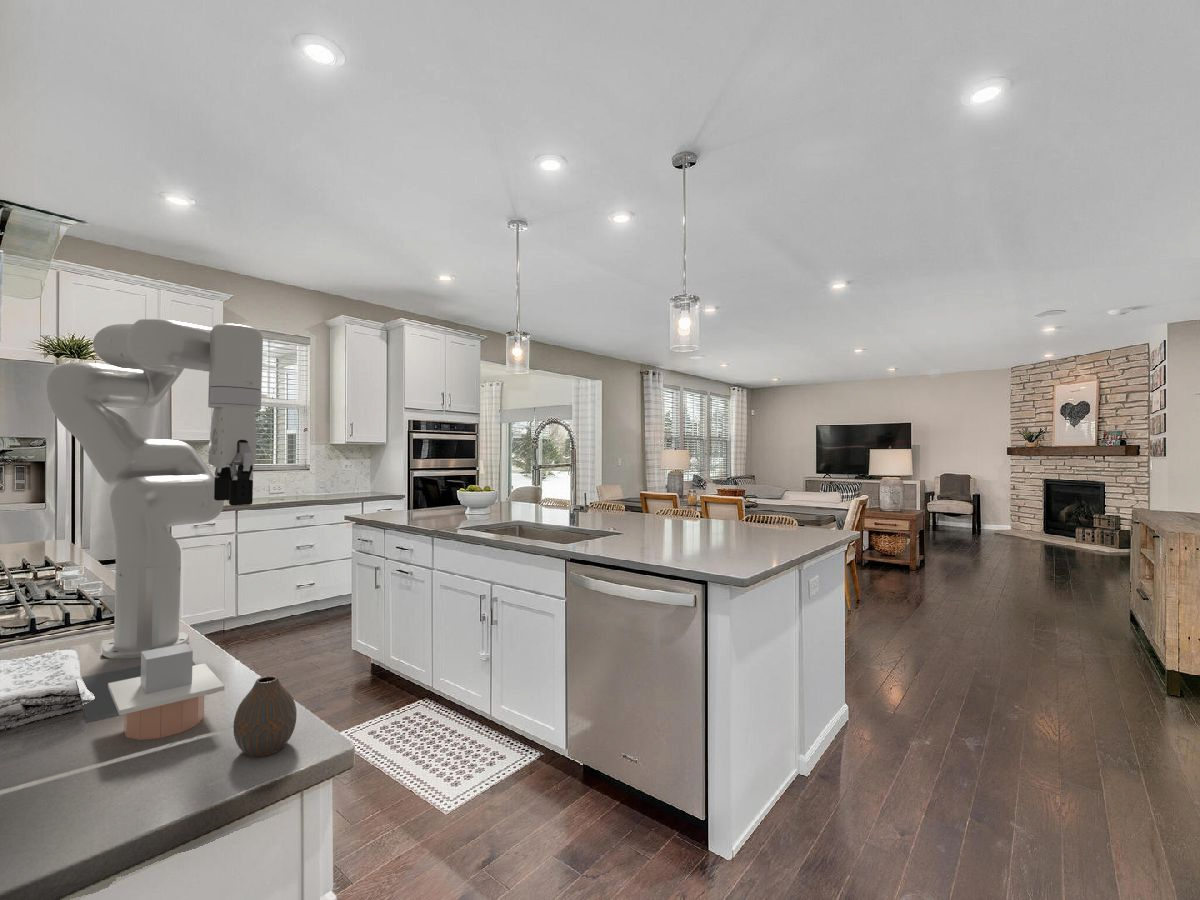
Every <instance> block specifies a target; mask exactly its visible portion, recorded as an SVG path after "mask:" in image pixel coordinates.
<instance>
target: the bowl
mask: <svg viewBox="0 0 1200 900" xmlns="http://www.w3.org/2000/svg"><path fill="white" fill-rule="evenodd" d="M204 717H205V695H203V696H198V697H194V698H190V699H186V700H182V701H177V702H173V703H169V704H165V705H161V706H156V707H152V708H148V709H144V710H140V711H136V712H131V713H127V714H123V719H124V720H123V732H124V735H125V737H126V738H130V739H134V740H140V741H142V740H143V741H144V740H152V739H162V738H166V737H169V736H173V735H177V734H180V733H184V732H185V731H187V730H189V729H191V728H193V727H195V726H197V725H199V723H200V722H201V721H202V720H203V719H204Z"/></svg>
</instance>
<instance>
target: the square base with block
mask: <svg viewBox="0 0 1200 900" xmlns="http://www.w3.org/2000/svg"><path fill="white" fill-rule="evenodd" d="M192 649H193V648H191V647H190V646H189V645H188V643H187V644H180V645H175V646H169V647H164V648H158V649H153V650H147V651H142V652H141V657H140V666H141V677H136V678H131V679H126V680H121V681H117V682H112V683H108V689H109V691H110V694H111V696H112V699H113V701H114V704H115V706H116V708H117V711H118V713H119V715H118V716H122V715H123V716H124V714H127V713H131V712H136V711H140V710H144V709H148V708H152V707H156V706H161V705H165V704H169V703H173V702H177V701H182V700H186V699H190V698H194V697H198V696H203V695H204V696H206V695H207V696H208V695H210V694H211V695H212V694H214V693H215V692H216V693H218V692H222V691H225V684H223V682H222V681H221V680H220V679H219V678H218V677H217V675H216V674H215V673H214V672H213V671H212V670H211V669H210V667H209V666H208V665H207V664H206V663H205V662H204V663H199V664H196V665H194V666H192V661H193V662H194V658H193V654H194V652H193V650H192Z"/></svg>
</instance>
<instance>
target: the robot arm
mask: <svg viewBox="0 0 1200 900" xmlns="http://www.w3.org/2000/svg"><path fill="white" fill-rule="evenodd" d="M263 339H264V338H263V335H262V332H260V331H259V330H258V329H257V328H256V327H255V328H254V327H253V326H248V325H244V324H243V325H242V324H235V323H220V324H216V325H214V326H212V327H208V326H204V325H198V324H193V323H187V322H181V321H176V320H170V319H160V318H159V319H156V318H155V319H154V318H153V319H150V318H149V319H148V318H146V319H144V318H143V319H138V320H136V321H135V322H134V323H117V324H111V325H108V326H105V327H103V328H101V329H100V330H99V331H98V332H96V334H95V336H94V338H93V339H92V340H93V341H92V347H93V350H94V352H95V354H96V355H97V356H98V357H99V359H101V360H102V361H103V362H104V363H106V364H104V363H96V362H84V361H83V362H81V361H80V362H78V361H77V362H68V363H64V364H60V365H58V366H57V367H54V368H53V369H52V370H51V371H50V373H49V375H48V377H47V381H46V394H47V398H48V399H47V400H48V403H49V405H50V408H51V410H52V412H53V414H54V415H55V417H56V419H57V420H58V421H59V422H60V424H61V425H62V426H63V427H64V428H65V429H66V430H67V431H68V432H69V433H70V434H71V435H72V436H73V437H74V438H75V439H76V440H77V441H78V442H79V444H80V445H81V447H82V449H83V451H84V452H85V453H86V455H87V457H88V458H89V460H90V462H91V463H92V465H93V466H94V468H95V470H96V471H97V472H98V474H99V475H100V478H102V480H103V481H104V482H105V483H107V484H108V485H110V486H112V487H113V489H112V491H111V493H110V497H109V505H110V506H109V507H110V513H111V518H112V523H113V528H114V537H115V539H114V540H115V584H114V585H115V587H114V590H115V591H114V626H113V629H114V631H113V640H112V641H110V642H108V643H107V644H105V645H103V647H102V649H101V654H102V656H103V657H105V658H108V659H136V658H137V659H138V658H141V652H142V651H147V650H153V649H158V648H164V647H169V646H175V645H180V644H187V645H188V643H189V642H190V638H189V637H190V635H189V634H187V632H183V631H180V612H181V611H180V607H181V606H180V605H181V577H182V576H181V573H182V572H181V569H182V567H181V565H182V553H181V547H180V544H179V543H178V541H177V540H176V539H175V537H174V536H173V535H172V533H170V531H169V530H168V527H175V526H183V525H185V526H186V525H193V524H194V525H195V524H201V523H202V524H203V523H207V522H210V521H212V520H215V519H216V518H217V517H218V516H220V514H221V513H222V511H223V509H224V506H225V505H224V504H225V501H228V504H229V505H230V506H232V507H233V506H235V507H236V506H250V505H253V500H254V499H253V497H254V496H253V495H254V492H253V491H254V490H253V489H254V473H253V470H254V465H255V464H256V463H255V462H256V457H257V456H256V454H257V453H256V452H257V424H256V422H257V419H256V418H257V416H256V411H262V388H263V386H262V385H263V384H262V383H263V381H262V379H263V348H264V346H263V345H264V344H263V343H264V341H263ZM184 369H186V370H187V369H188V370H196V371H203V372H208V395H207V396H208V398H207V399H208V400H207V401H208V402H207V407H208V408H209V409H213V410H212V416H211V424H210V432H209V433H210V436H209V446H208V447H209V448H208V464H209V465H210V466H211V467H213V468H215V470H214V471H215V472H214V474H213V472H212V471H211V469H210V468H209V467H208V465H207V464H206V462H205V461H204V460H203V458H202V457H201V456H200V454H199V453H198V451H197V450H196V449H195V448H194V447H193V446H191V445H190V444H188V443H187V442H185V441H181V440H176V439H163V438H161V439H160V438H158V439H157V438H146V437H142V436H140V435H139V434H138V433H137V431H136V430H135V428H134V426H133V425H132V423H130V422H129V421H128V420H127V419H126V418H124V416H122V415H121V414H118V413H117V412H115V411H113V410H111V409H110V408H116V409H133V410H146V409H147V410H148V409H150V408H151V409H152V408H154V407H155V406H157V405H158V404H159V403H160V402H161V401H162V399H163V398H164V397H165V396H166V394H167V393H168V391H169V390H170V389H171V387H172V386H173V385H174V384H175V382H176V381H177V380H178V378H179V377H180V376H181V374H182V372H184Z"/></svg>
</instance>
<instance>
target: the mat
mask: <svg viewBox="0 0 1200 900" xmlns="http://www.w3.org/2000/svg"><path fill="white" fill-rule="evenodd" d="M194 665H197V664H196V663H195V661H194V660H193V661H192V666H194ZM81 677H82V679H83V681H84V683H85V685H86V687H87V689H88V690H89V691H90V692H92V693H93V694H94V696H95V699H94V700H93V701H91V702H89V703H87V704H84V705H82V704H81V707H82V710H83V711H82V712H83V715H84V719H85V723H86V724H88V723H92V722H96V721H100V720H104V719H109V718H113V717H117V716H118V717H119V716H120V715H119V713H118V711H117V708H116V706H115V704H114V701H113V699H112V696H111V694H110V691H109V689H108V683H112V682H117V681H121V680H126V679H131V678H136V677H141V665H138V666H132V667H129V668H128V667H127V668H123V669H117V670H112V671H105V672H101V673H96V674H91V675H86V676H81ZM215 693H217V692H215Z"/></svg>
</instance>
